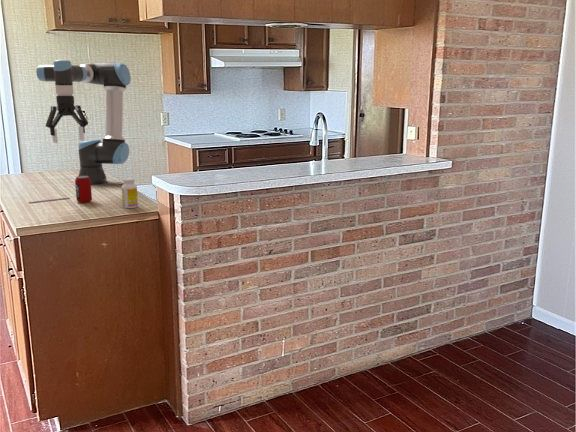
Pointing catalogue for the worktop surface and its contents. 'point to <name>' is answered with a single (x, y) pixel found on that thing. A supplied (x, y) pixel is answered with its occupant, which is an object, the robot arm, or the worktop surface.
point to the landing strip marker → (49, 200)
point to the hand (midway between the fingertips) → (68, 141)
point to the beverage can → (83, 189)
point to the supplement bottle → (129, 193)
